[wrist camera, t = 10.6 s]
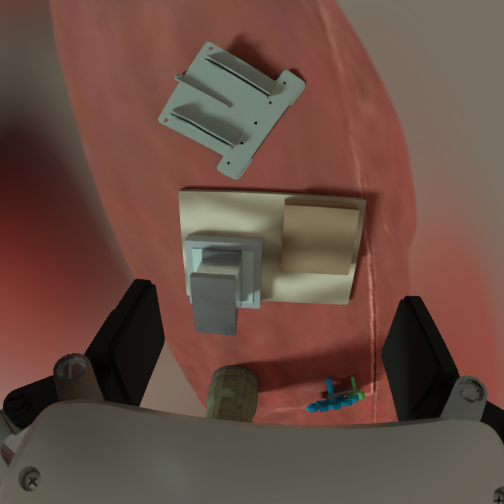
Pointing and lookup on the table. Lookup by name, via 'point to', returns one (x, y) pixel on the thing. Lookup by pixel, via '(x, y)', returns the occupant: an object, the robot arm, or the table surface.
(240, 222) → the board
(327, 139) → the table surface
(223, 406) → the thermos
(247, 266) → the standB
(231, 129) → the metal bracket
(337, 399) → the gear
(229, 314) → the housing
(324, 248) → the stand
